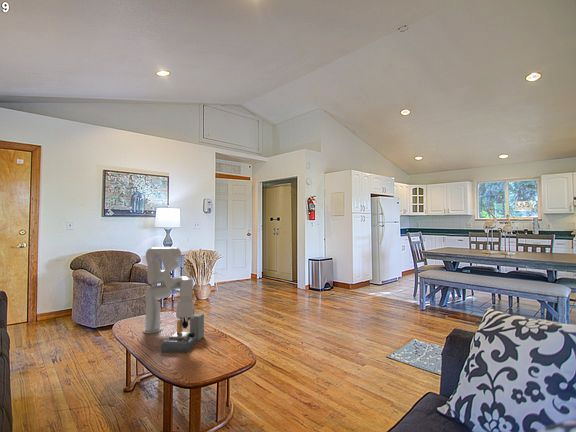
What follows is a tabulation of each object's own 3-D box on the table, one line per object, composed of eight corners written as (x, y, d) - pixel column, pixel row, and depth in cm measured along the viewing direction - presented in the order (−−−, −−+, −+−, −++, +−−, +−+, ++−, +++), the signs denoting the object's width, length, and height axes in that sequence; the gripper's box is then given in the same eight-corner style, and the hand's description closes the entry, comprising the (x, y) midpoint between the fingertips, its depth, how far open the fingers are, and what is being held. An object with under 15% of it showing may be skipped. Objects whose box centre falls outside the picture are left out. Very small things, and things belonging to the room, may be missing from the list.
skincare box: (198, 341, 198) (199, 317, 199) (188, 340, 200) (189, 316, 200) (204, 336, 206) (205, 313, 207) (194, 335, 208) (195, 312, 208)
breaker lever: (179, 332, 191) (180, 318, 191) (182, 332, 191) (182, 318, 191) (176, 335, 186) (176, 321, 186) (179, 335, 186) (179, 321, 186)
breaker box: (171, 341, 196) (172, 329, 197) (196, 342, 196) (196, 329, 196) (160, 352, 180) (161, 338, 181) (187, 352, 180) (187, 339, 180)
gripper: (171, 299, 185) (170, 329, 185) (195, 300, 185) (195, 330, 185) (176, 296, 193) (175, 325, 192) (199, 297, 193) (198, 326, 192)
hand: (185, 327), depth 188 cm, fingers closed
